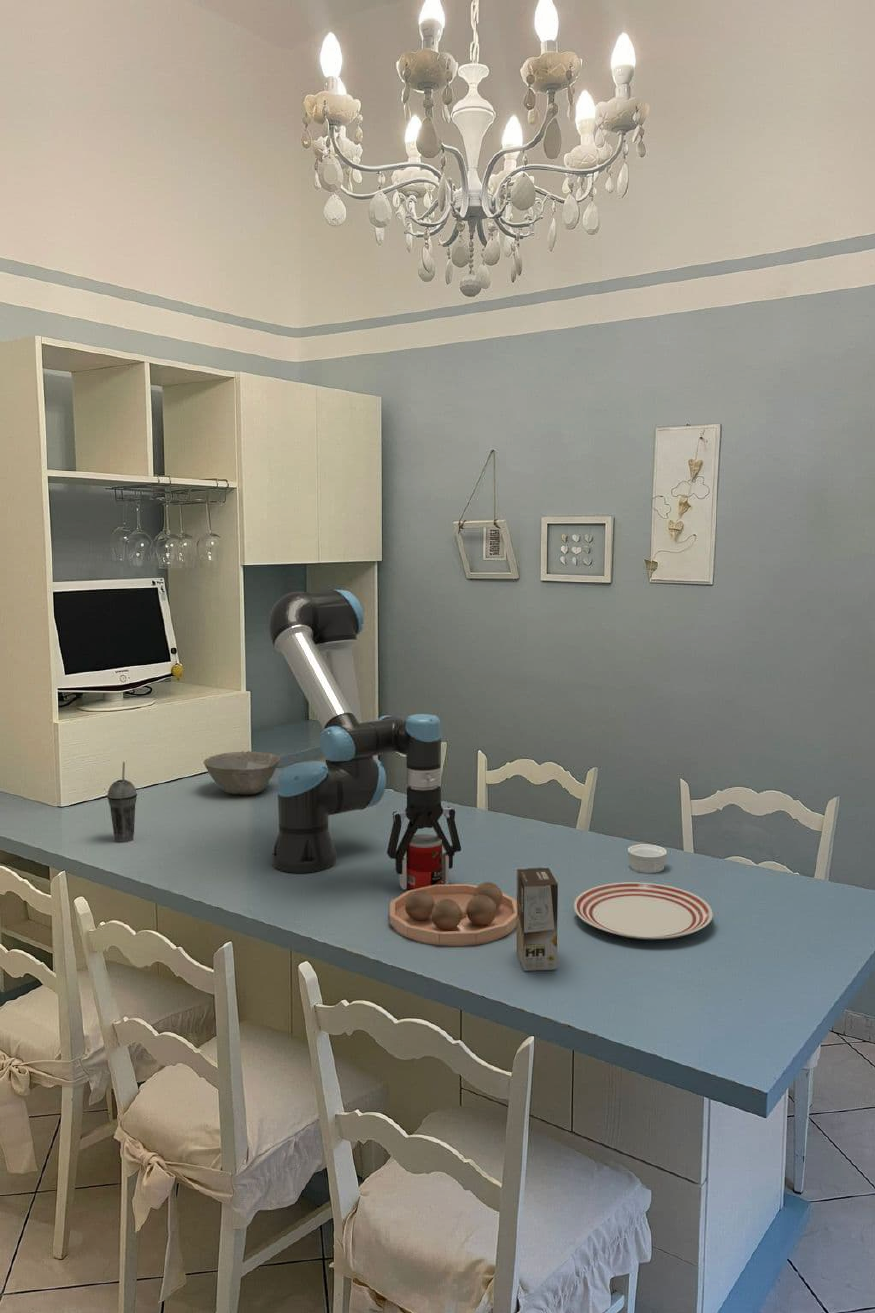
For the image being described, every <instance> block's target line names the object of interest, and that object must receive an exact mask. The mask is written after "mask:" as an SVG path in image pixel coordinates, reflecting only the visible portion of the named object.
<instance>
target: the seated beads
mask: <svg viewBox="0 0 875 1313" xmlns="http://www.w3.org/2000/svg"><path fill="white" fill-rule="evenodd" d="M477 886H478V887H477V888H476V889H475V891H474V894H473V898H472V899H471V900H470V901H469V902H468V904H467V908H466V913H467V917H468V919H469V920H470V921H471V922H472V923H473V924H475V925H477V926H486V925H488V924H490V923H491V922H492V921H493V920H494V919H495V917H496V912H497V910H496V909H498V908H499V907H500V905H501V903H502V898H503V897H502V893H503V891H502V889H501V888H500V887H499V886H498V885H497V884H495V883H493V882H489V881H485V882H483V883H480V884H479V885H477ZM405 910H406V912H407V914H408V916H409V917H411V918H412V919H414V920H417V921H423V920H426V919H428V918H429V917H430V916H431V918H432V921H433V923H434V925H435V926H436V927H437V928H439V929H441V930H444V931H449V930H452V929H454V928H456V927H457V926H458V925H459V923H460V921H461V918H462V912H461V908H460V907H459V905H458V904H457V903H456V902H455V901H453V900H450V899H443V900H440V901H438V902H437V903H436V904H435V903H434V899H433V897H432V896H431V895H430V894H429V893H428V892H426V891H424V890H416V891H413V892H412V893H410V894H409V895H408V897H407V899H406V901H405Z"/></svg>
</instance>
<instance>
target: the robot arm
mask: <svg viewBox="0 0 875 1313" xmlns="http://www.w3.org/2000/svg"><path fill="white" fill-rule="evenodd" d="M268 618H269V619H268V624H267V625H268V628H267V629H268V635H269V639H270V641H271V643H272V645H273V647H274V649H275V650H276V652H277V653H278V654H279V655H282V656H283V657H284V659H285V660H286V662H287V664H288V666H289V668H290V670H291V671H292V674H293V675H294V677H295V680H296V682H298V685H299V686H300V688H301V690H302V692H303V694H304V696H305V698H306V701H308V703H309V705H310V707H311V709H312V711H313V713H314V715H315V717H316V719H317V720H318V722H319V724H320V727H321V728H322V732H321V733H320V737H319V745H320V747H321V748H320V749H321V753H322V755H323V757H324V759H325V760H324V761H325V762H323V761H319V760H316V761H315V760H311V761H302V762H301V761H300V762H297V763H294V764H290V765H288V766H287V767H285V768H284V769H282V770H281V771H280V773H279V774H278V778H277V789H276V792H277V805H278V806H277V807H278V811H277V812H278V813H277V814H278V834H277V838H276V841H275V844H274V846H273V847H274V848H273V851H272V855H271V861H272V864H271V865H272V866H273V868H274V869H276V870H279V871H281V872H286V873H296V874H304V873H305V874H306V873H314V872H321V871H324V870H327V869H330V868H331V867H333V866H334V865H336V863H337V850H336V848H335V844H334V843H333V842H334V841H333V839H332V836H331V833H330V831H329V830H330V829H329V817H330V816H332V815H337V814H343V813H347V812H348V813H349V812H353V811H358V810H359V811H362V810H364V809H366V808H369V807H375V806H376V805H377V804H378V803H380V801H381V800H382V798H383V797H384V794H385V790H386V787H387V786H386V785H387V776H386V771H385V768H384V766H383V764H382V762H381V761H380V760H379V759H378V758H375V757H374V756H379V755H385V754H390V753H398V754H402V755H404V756H406V784H407V788H406V807H405V810H404V811H400V812H397V811H393V812H392V820H393V823H392V827H391V831H390V836H389V841H388V845H387V850H386V854H387V856H388V857H389V858H390V859H392V860H393V859H394V860H395V866H394V867H395V872H396V874H397V875H399V886H400V888H401V889H402V890H404V891H406V890H407V867H406V858H405V855H406V851H407V849H408V847H409V845H410V842H411V840H412V838H413V836H414V835H416V833H418V832H417V831H418V830H420V829H421V830H422V829H424V828H426V829H431V828H433V830H434V832H435V835H436V836H438V837H439V838H440V839H442V848H443V849H444V852H442V883H443V884H450V876H449V875H450V871H449V870H450V869H453V866H454V864H453V863H454V856H455V853H459V852H461V850H462V847H461V843H460V838H459V837H460V836H459V833H458V830H457V825H456V821H455V820H456V810H455V809H454V808H453V807H452V806H447V807H442V787H441V784H442V736H443V734H442V730H441V729H442V728H441V719H440V718H439V717H438V716H437V715H434V714H427V713H416V714H412V715H409V716H408V717H406V719H405V718H403V717H400V716H397V715H383V716H380V717H379V718H378V719H376V720H373V721H364V722H363V720H362V714H361V713H362V712H361V706H360V705H361V703H360V699H359V692H358V690H359V689H358V683H357V676H356V670H355V669H356V668H355V662H354V656H353V647H354V646H355V645H356V644H357V642H358V640H357V639H358V638H357V635H359V634H360V633H361V632H362V630H363V628H364V627H363V624H364V621H365V620H364V619H365V618H364V612H363V609H362V606H361V603H360V601H359V600H358V598H357V597H356V596H355V595H354V594H353V593H352V592H351V591H349V590H345V589H322V590H309V591H292V592H289V593H287V594H285V595H283V596H282V597H281V598H279V599H278V600H277V601H276V602H275V604H274V606H273V607H272V608H271V611H270V613H269V617H268ZM442 815H443V817H444V818H445V819H446V823H447V828H448V832H449V837H450V841H451V844H450V842H449V840H448V838H447V837H446V835H445V833H444V831H443V829H442V826H441V825H440V823H439V820H440V818H441V816H442ZM405 818H407V819H408V821H409V822H408V824H407V826H406V830H405V832H404V834H403V836H402V838H401V840H400V843H399V838H400V835H401V831H402V830H401V829H402V823H403V822H405ZM398 843H399V844H398Z"/></svg>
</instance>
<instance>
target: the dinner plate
mask: <svg viewBox="0 0 875 1313" xmlns="http://www.w3.org/2000/svg"><path fill="white" fill-rule="evenodd" d="M573 910H574V912H575V914H576V915H577V916H578V917H579V919H580V920H582V921H583V922H584V923H586V924H588V925H589V926H592V927H593V928H597V929H598V930H601V931H604V932H606V933H609V934H613V935H618V936H621V937H625V938H632V939H638V940H639V939H641V940H666V939H675V938H679V937H684V936H687V935H691V934H693V933H695V932H698V931H700V930H702V929H704V928H705V927H707V926H708V925H709V924H710V923H711V922H712V919H713V914H714V913H713V910H712V907H711V906H710V905H709V903H707V901H706V900H704V899H703V898H701V897H700V896H698V895H697V894H695V893H692V892H690V891H688V890H684V889H681V888H678V887H675V886H670V885H666V884H659V883H653V882H639V881H638V882H637V881H631V882H630V881H627V882H614V883H607V884H602V885H598V886H595V887H591V888H589V889H587V890H585V891H583V892H581V893H580V894H579V895H578V896H577V897H576V898H575V900H574V903H573Z"/></svg>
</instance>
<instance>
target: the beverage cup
mask: <svg viewBox="0 0 875 1313" xmlns="http://www.w3.org/2000/svg"><path fill="white" fill-rule="evenodd" d="M125 765H126V762H125V761H122V773H121V774H122V775H121V779H118V780H115V781H114V782H113V783H112V784H110V786H109V788H108V791H107V796H106V798H107V801H108V805H109V808H110V815H111V816H110V817H111V823H112V824H111V825H112V830H113V837H114V841H115V842H116V843H128V842H129V843H130V842H132V841H133V840H134V835H135V820H136V819H135V818H136V804H137V798H138V797H137V796H138V794H137V789H136V787H135V784H133V783H132V782H131V781H129V780H126V779H125V770H126V769H125V768H126V766H125Z"/></svg>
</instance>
